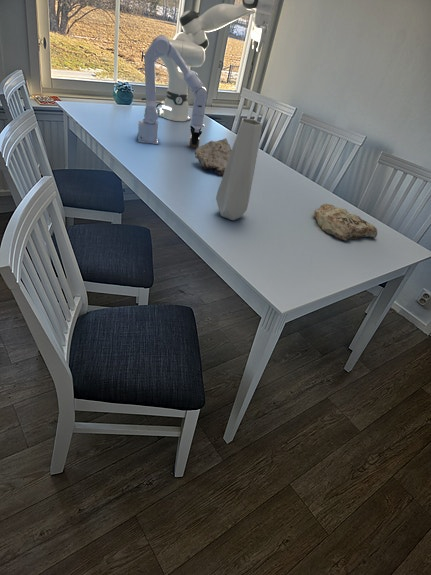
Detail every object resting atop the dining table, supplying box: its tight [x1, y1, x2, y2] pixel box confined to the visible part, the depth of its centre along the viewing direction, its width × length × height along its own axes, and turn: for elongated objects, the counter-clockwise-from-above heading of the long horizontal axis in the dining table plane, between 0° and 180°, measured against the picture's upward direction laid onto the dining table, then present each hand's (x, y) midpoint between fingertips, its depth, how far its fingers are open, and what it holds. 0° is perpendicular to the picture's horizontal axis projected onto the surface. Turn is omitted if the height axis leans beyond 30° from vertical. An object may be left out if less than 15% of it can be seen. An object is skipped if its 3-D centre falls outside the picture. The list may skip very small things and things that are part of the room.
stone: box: [313, 203, 378, 242], centre depth 145 cm, size 19×6×25 cm
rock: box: [193, 138, 232, 176], centre depth 167 cm, size 15×17×15 cm
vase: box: [215, 117, 263, 221], centre depth 128 cm, size 12×12×33 cm
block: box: [189, 135, 200, 149], centre depth 187 cm, size 4×4×4 cm
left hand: (194, 142), depth 188 cm, fingers closed on block, 4 cm apart
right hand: (256, 50), depth 212 cm, fingers open, 8 cm apart
